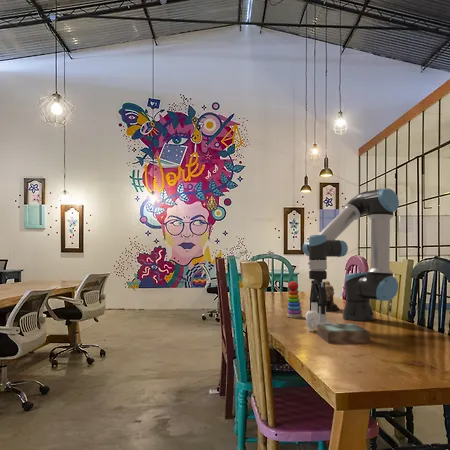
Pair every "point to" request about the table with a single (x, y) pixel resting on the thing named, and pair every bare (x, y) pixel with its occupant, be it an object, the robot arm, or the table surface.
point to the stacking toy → (294, 301)
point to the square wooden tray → (343, 333)
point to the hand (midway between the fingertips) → (318, 319)
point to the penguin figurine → (314, 320)
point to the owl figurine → (330, 298)
